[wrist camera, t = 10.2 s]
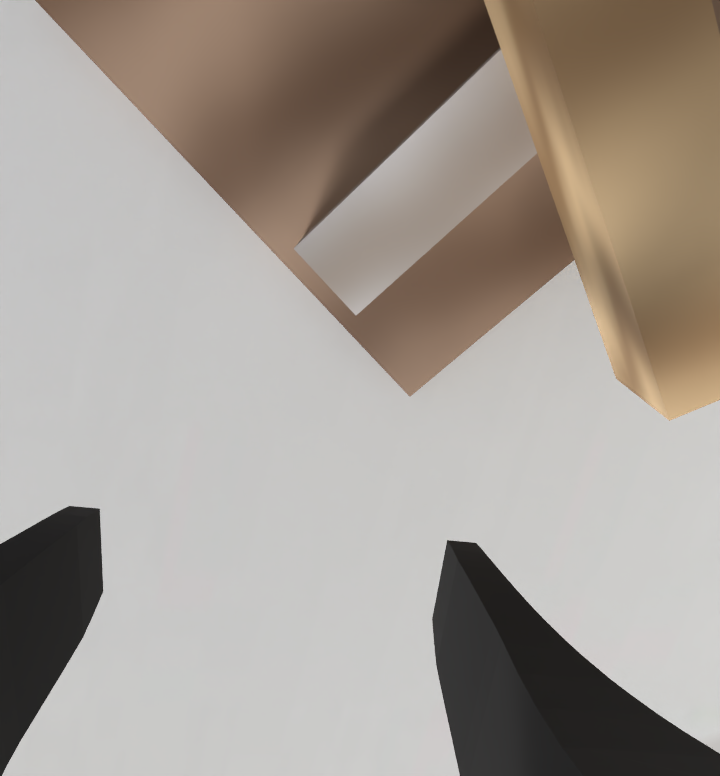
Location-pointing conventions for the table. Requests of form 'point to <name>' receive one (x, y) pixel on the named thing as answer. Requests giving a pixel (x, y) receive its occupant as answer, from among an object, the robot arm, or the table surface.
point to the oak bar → (632, 174)
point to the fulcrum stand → (352, 152)
